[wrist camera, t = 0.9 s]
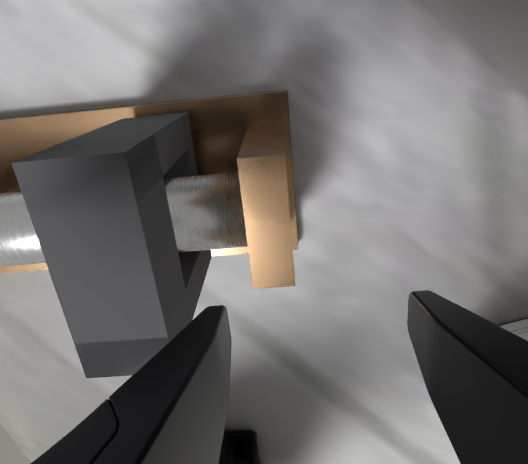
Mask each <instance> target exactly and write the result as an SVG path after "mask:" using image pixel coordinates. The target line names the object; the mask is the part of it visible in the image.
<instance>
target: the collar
mask: <svg viewBox="0 0 528 464" xmlns="http://www.w3.org/2000/svg"><path fill="white" fill-rule="evenodd" d="M12 166H13V169H14V172H15V175H16V178H17V181H18V183H19V186H20V189H21V192H22V195H23V198H24V201H25V203H26V206H27V209H28V212H29V215H30V218H31V221H32V224H33V226H34V229H35V232H36V235H37V238H38V241H39V244H40V246H41V249H42V252H43V255H44V258H45V261H46V264H47V267H48V269H49V272H50V275H51V278H52V281H53V284H54V287H55V289H56V292H57V295H58V298H59V301H60V304H61V307H62V310H63V312H64V315H65V318H66V321H67V324H68V327H69V330H70V332H71V335H72V338H73V341H74V344H75V347H76V350H77V353H78V355H79V358H80V361H81V364H82V367H83V370H84V373H85V375H86V378H96V377H112V376H127V375H134V374H135V373H136V372H137V371H138V370H139V369H140V368H141V367H142V366H143V365H145V364H146V363H147V362H148V361H149V360H150V359H151V358H152V357H153V356H154V355H155V354H157V353H158V352H159V351H160V350H161V349H162V348H163V347H164V346H165V345H166V344H167V343H169V342H170V341H171V340H172V339H173V338H174V337H175V336H176V335H177V334H178V333H179V332H180V331H182V330H183V329H184V328H185V327H186V326H187V325H188V324H189V323H190V322H191V321H192V319H193V316H194V312H195V309H196V306H197V303H198V299H199V296H200V293H201V289H202V286H203V283H204V280H205V276H206V273H207V270H208V266H209V263H210V260H211V257H212V255H211V250H200V251H188V252H178V249H177V244H176V239H175V234H174V229H173V224H172V219H171V215H170V210H169V205H168V200H167V195H166V190H165V185H164V180H163V179H166V178H177V177H188V176H198V170H197V164H196V158H195V152H194V146H193V140H192V134H191V128H190V122H189V116H188V112H184V113H174V114H164V115H154V116H144V117H134V118H124V119H120V120H118V121H115V122H113V123H110V124H108V125H105V126H103V127H100V128H97V129H95V130H92V131H90V132H87V133H85V134H82V135H80V136H77V137H75V138H72V139H70V140H67V141H65V142H62V143H60V144H57V145H55V146H52V147H50V148H47V149H45V150H42V151H40V152H37V153H35V154H32V155H30V156H27V157H25V158H22V159H20V160H17V161H15V162H12Z"/></svg>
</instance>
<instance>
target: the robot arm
mask: <svg viewBox="0 0 528 464" xmlns="http://www.w3.org/2000/svg"><path fill="white" fill-rule="evenodd" d="M407 324H408V331H409V335H410V338H411V341H412V344H413V347H414V350H415V354H416V357H417V360H418V363H419V366H420V369H421V372H422V375H423V378H424V381H425V384H426V387H427V390H428V393H429V395H430V398H431V400H432V402H433V405H434V407H435V409H436V411H437V413H438V415H439V418H440V420H441V422H442V424H443V426H444V428H445V431H446V433H447V435H448V437H449V439H450V441H451V444H452V446H453V448H454V450H455V452H456V454H457V457H458V459H459V461H460V463H461V464H528V341H527V340H525V339H523V338H521V337H519V336H517V335H515V334H513V333H511V332H510V331H508V330H506V329H504V328H502V327H500V326H498V325H496V324H494V323H492V322H490V321H488V320H486V319H484V318H482V317H480V316H478V315H476V314H474V313H472V312H471V311H469V310H467V309H465V308H463V307H461V306H459V305H457V304H455V303H453V302H451V301H449V300H447V299H445V298H443V297H441V296H439V295H437V294H435V293H433V292H432V291H429V290H424V291H413V292H411V293H410V295H409V302H408V321H407ZM230 364H231V333H230V326H229V320H228V314H227V309H226V307H225V306H223V305H220V306H209V307H207V308H206V309H204V310H203V311H202V312H201V313H200V314H199V315H198V316H197V317H196V318H195V319H194V320H192V321H191V322H190V323H189V324H188V325H187V326H186V327H185V328H184V329H183V330H182V331H180V332H179V333H178V334H177V335H176V336H175V337H174V338H173V339H172V340H171V341H170V342H169V343H167V344H166V345H165V346H164V347H163V348H162V349H161V350H160V351H159V352H158V353H157V354H155V355H154V356H153V357H152V358H151V359H150V360H149V361H148V362H147V363H146V364H145V365H143V366H142V367H141V368H140V369H139V370H138V371H137V372H136V373H135V374H134V375H133V376H132V377H130V378H129V379H128V380H127V381H126V382H125V383H124V384H123V385H122V386H121V387H120V388H118V389H117V390H116V391H115V392H114V393H113V394H112V395H111V396H110V397H109V400H108V399H107V400H105V401H104V402H103V403H102V404H101V405H100V406H99V407H98V408H96V409H95V410H94V411H93V412H92V413H91V414H90V415H89V416H88V417H86V418H85V419H84V420H83V421H82V422H81V423H80V424H78V425H77V426H76V427H75V428H74V429H73V430H72V431H71V432H69V433H68V434H67V435H66V436H64V437H63V438H62V439H61V440H60V441H58V442H57V443H56V444H55V445H53V446H52V447H51V448H50V449H48V450H47V451H46V452H45V453H44V454H42V455H41V456H40V457H38V458H37V459H36V460H35V461H33V462H32V463H31V464H261V462H260V455H259V448H258V441H257V435H256V433H255V432H253V431H232V432H224V428H225V423H226V417H227V410H228V401H229V384H230Z"/></svg>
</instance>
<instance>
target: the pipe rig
mask: <svg viewBox="0 0 528 464" xmlns="http://www.w3.org/2000/svg"><path fill="white" fill-rule="evenodd" d="M184 112H188V116H189V122H190V128H191V134H192V140H193V146H194V152H195V158H196V164H197V170H198V176H188V177H177V178H166V179H163V180H164V185H165V190H166V195H167V200H168V205H169V210H170V215H171V219H172V224H173V229H174V234H175V239H176V244H177V249H178V252H188V251H200V250H211V255H212V256H220V255H233V254H245V253H249V261H250V269H251V277H252V285H253V289H259V288H272V287H286V286H295V276H294V263H293V250H295V249H298V237H297V222H296V208H295V194H294V180H293V166H292V152H291V138H290V123H289V109H288V95H287V90H281V91H271V92H261V93H251V94H241V95H231V96H222V97H212V98H202V99H192V100H182V101H172V102H162V103H153V104H143V105H133V106H123V107H113V108H103V109H94V110H84V111H74V112H64V113H54V114H44V115H35V116H25V117H15V118H5V119H0V273H7V272H20V271H32V270H45V269H48V267H47V264H46V261H45V258H44V255H43V252H42V249H41V246H40V244H39V241H38V238H37V235H36V232H35V229H34V226H33V224H32V221H31V218H30V215H29V212H28V209H27V206H26V203H25V201H24V198H23V195H22V192H21V189H20V186H19V183H18V181H17V178H16V175H15V172H14V169H13V166H12V162H15V161H17V160H20V159H22V158H25V157H27V156H30V155H32V154H35V153H37V152H40V151H42V150H45V149H47V148H50V147H52V146H55V145H57V144H60V143H62V142H65V141H67V140H70V139H72V138H75V137H77V136H80V135H82V134H85V133H87V132H90V131H92V130H95V129H97V128H100V127H103V126H105V125H108V124H110V123H113V122H115V121H118V120H120V119H124V118H134V117H144V116H154V115H164V114H174V113H184Z"/></svg>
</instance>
